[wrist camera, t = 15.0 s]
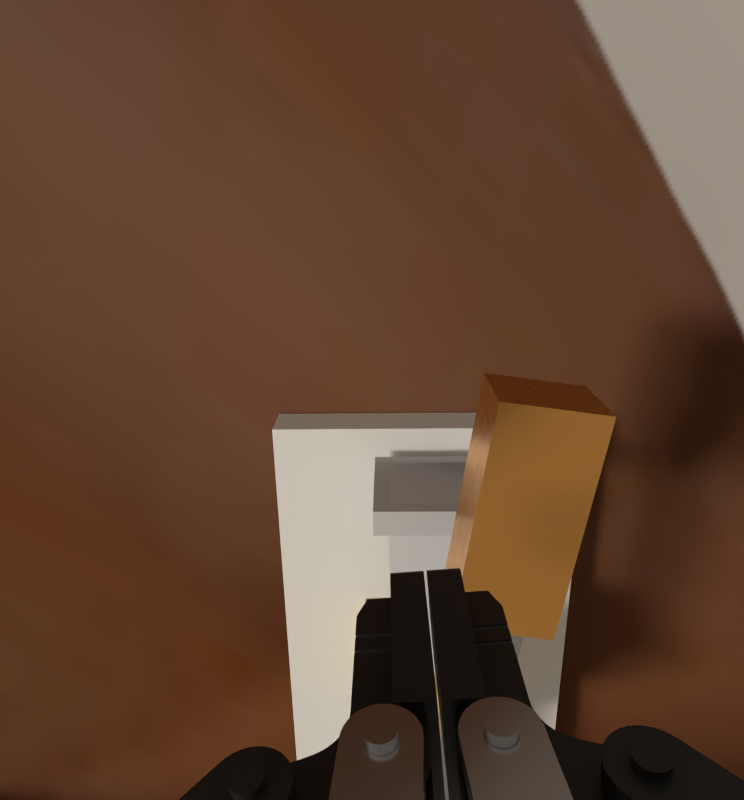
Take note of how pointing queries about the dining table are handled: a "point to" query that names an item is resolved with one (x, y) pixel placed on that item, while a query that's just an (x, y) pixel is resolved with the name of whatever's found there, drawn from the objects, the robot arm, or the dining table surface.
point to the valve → (370, 546)
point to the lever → (528, 498)
